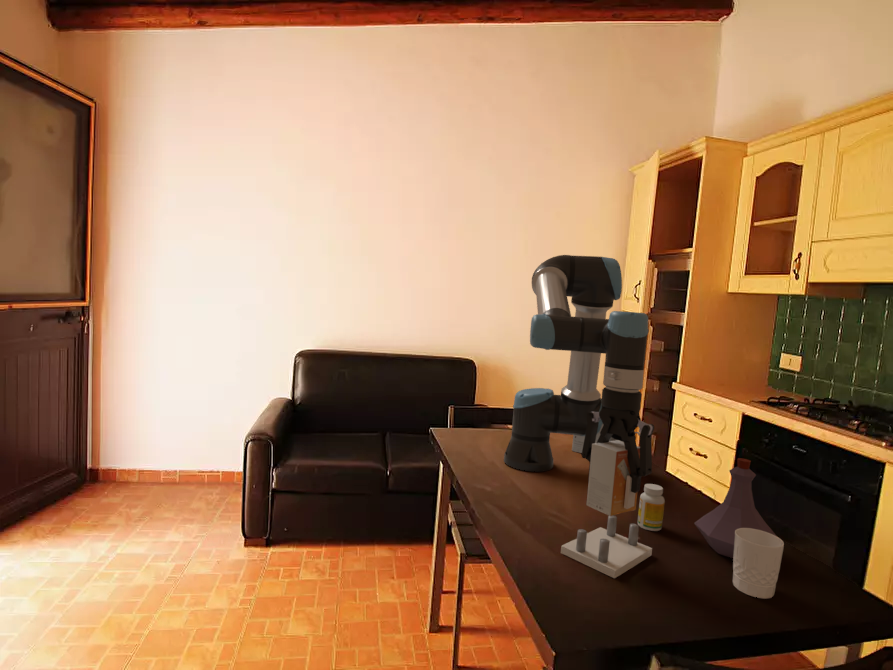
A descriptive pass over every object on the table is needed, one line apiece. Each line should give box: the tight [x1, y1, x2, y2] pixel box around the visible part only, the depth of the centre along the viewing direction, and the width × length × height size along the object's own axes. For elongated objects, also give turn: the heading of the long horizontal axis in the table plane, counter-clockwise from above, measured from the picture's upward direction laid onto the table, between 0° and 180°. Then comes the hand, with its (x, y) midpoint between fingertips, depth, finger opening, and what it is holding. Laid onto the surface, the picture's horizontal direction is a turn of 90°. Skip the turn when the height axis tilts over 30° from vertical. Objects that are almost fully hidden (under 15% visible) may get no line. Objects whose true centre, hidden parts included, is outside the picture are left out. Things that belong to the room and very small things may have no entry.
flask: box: [694, 457, 777, 559], centre depth 114 cm, size 16×16×20 cm
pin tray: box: [560, 515, 653, 579], centre depth 109 cm, size 12×15×6 cm
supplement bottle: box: [637, 483, 666, 532], centre depth 124 cm, size 5×5×10 cm
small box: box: [586, 440, 640, 516], centre depth 108 cm, size 8×6×13 cm
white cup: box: [732, 528, 785, 600], centre depth 99 cm, size 8×8×10 cm
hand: (611, 500), depth 108 cm, fingers closed on small box, 7 cm apart
